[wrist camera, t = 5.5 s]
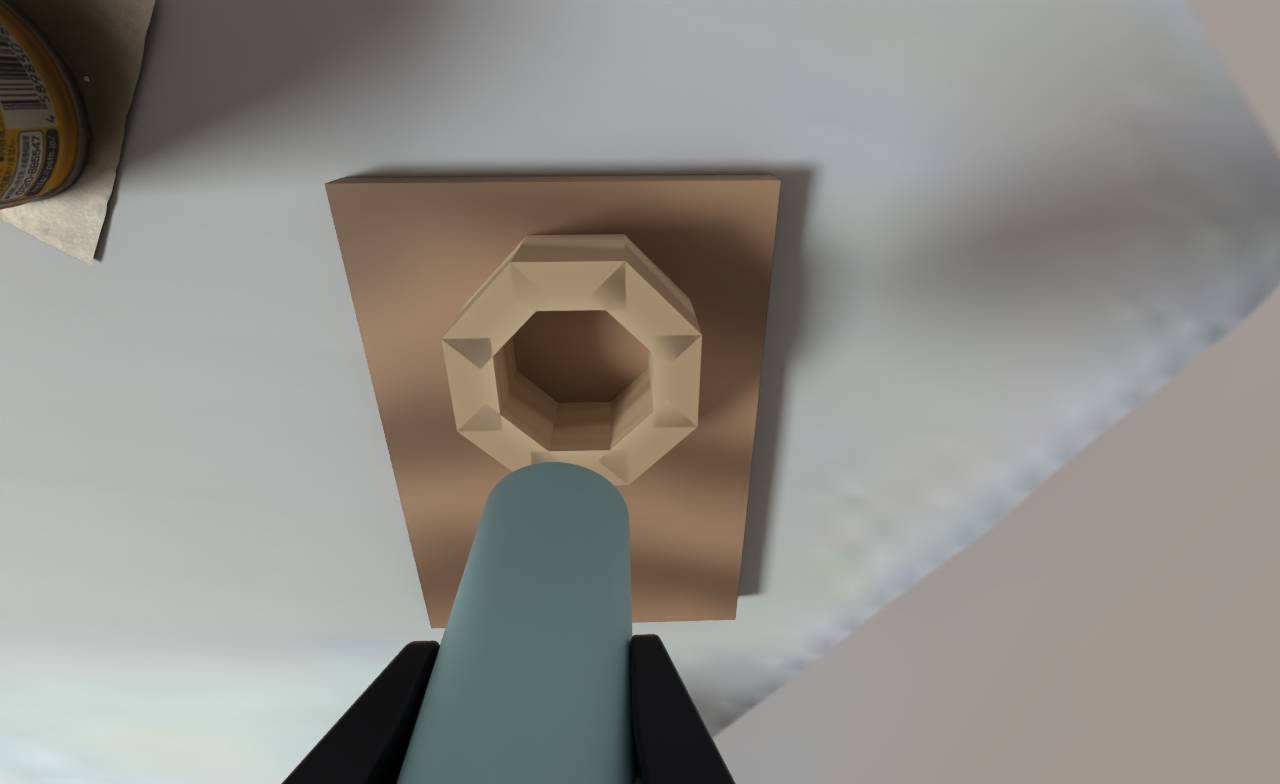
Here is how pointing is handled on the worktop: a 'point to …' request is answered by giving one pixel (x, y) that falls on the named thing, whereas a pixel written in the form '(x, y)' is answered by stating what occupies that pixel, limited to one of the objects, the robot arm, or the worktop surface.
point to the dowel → (536, 642)
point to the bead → (590, 431)
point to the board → (566, 356)
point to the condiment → (65, 112)
